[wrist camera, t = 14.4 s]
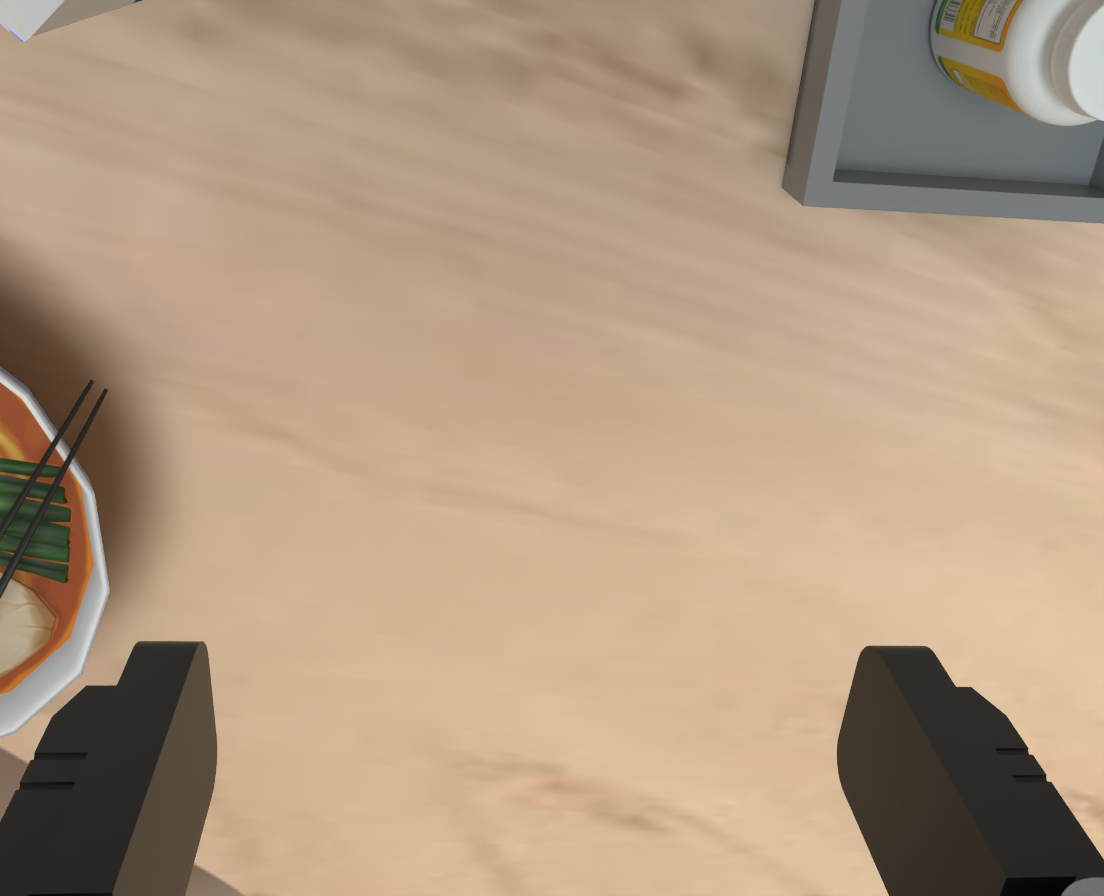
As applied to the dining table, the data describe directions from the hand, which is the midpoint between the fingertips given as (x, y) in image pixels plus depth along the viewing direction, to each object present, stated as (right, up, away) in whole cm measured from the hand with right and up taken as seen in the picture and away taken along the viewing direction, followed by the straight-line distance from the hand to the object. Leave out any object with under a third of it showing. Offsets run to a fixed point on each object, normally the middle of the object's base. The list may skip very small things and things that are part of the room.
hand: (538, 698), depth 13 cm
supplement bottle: (+17, +20, +28) cm, 39 cm away
